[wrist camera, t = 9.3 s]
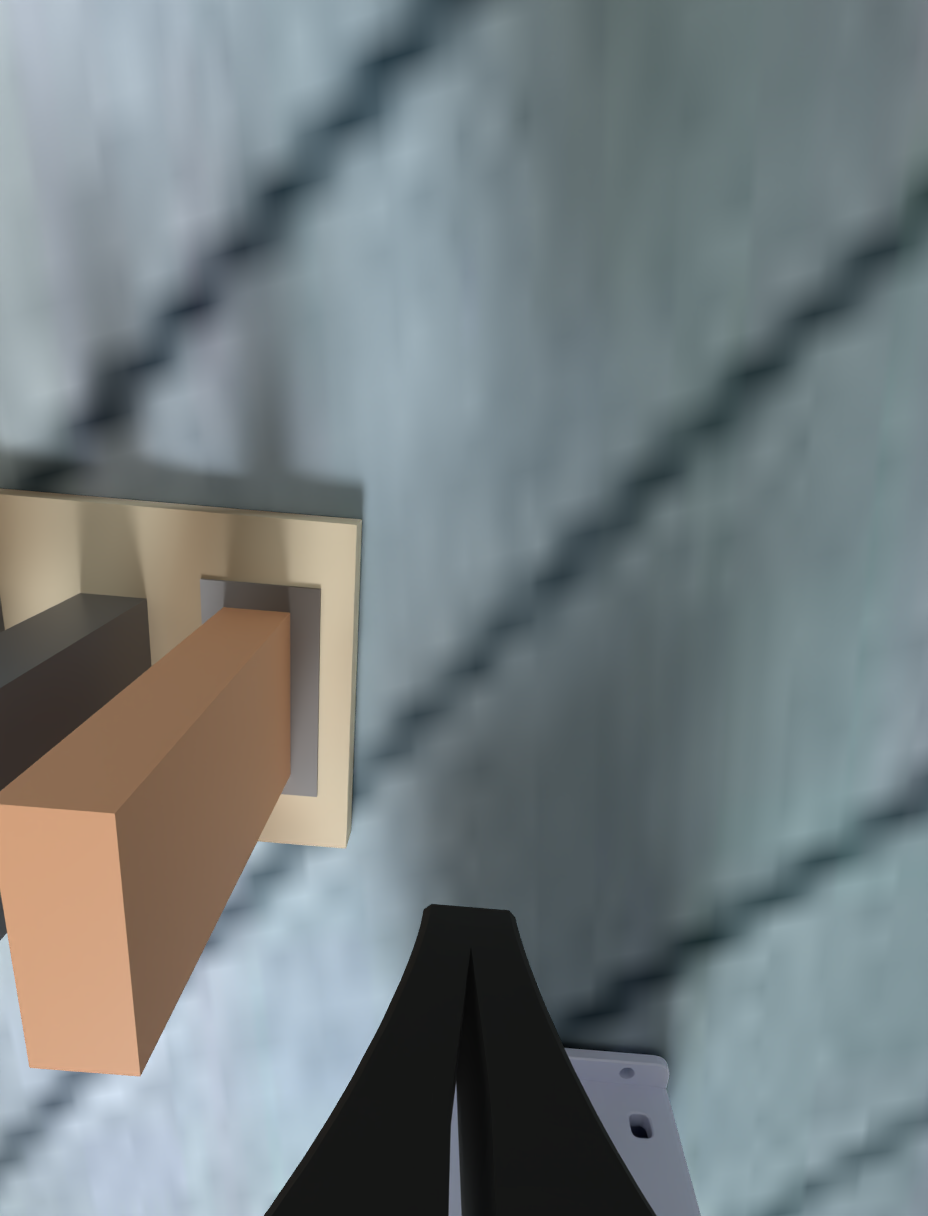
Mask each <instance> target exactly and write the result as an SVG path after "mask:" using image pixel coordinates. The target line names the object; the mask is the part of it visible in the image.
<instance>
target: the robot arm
mask: <svg viewBox="0 0 928 1216" xmlns="http://www.w3.org/2000/svg"><path fill="white" fill-rule="evenodd" d="M668 1080H669V1068H668V1065H667V1062H666V1061H665V1059H663V1058H662V1057H660V1056H656V1055H646V1054H634V1053H622V1052H610V1051H597V1050H585V1049H573V1048H564V1047H563V1044H562V1042H561V1040H560V1038H559V1035H558V1033H557V1031H556V1029H555V1026H554V1024H553V1022H552V1019H551V1017H550V1015H549V1013H548V1010H547V1008H546V1006H545V1003H544V1001H543V999H542V996H541V994H540V991H539V989H538V986H537V983H536V981H535V978H534V976H533V973H532V970H531V968H530V965H529V962H528V959H527V956H526V953H525V950H524V947H523V944H522V941H521V938H520V934H519V931H518V927H517V923H516V919H515V917H514V915H513V914H512V913H511V912H510V911H509V910H497V909H485V908H473V907H461V906H449V905H437V904H431V905H429V906H428V907H427V908H425V909H424V911H423V916H422V921H421V925H420V929H419V932H418V936H417V939H416V942H415V945H414V948H413V951H412V953H411V956H410V959H409V961H408V964H407V966H406V969H405V971H404V974H403V976H402V979H401V981H400V983H399V985H398V987H397V990H396V992H395V994H394V996H393V998H392V1001H391V1003H390V1005H389V1007H388V1009H387V1011H386V1014H385V1016H384V1018H383V1020H382V1022H381V1024H380V1026H379V1028H378V1030H377V1032H376V1034H375V1036H374V1038H373V1040H372V1041H371V1043H370V1045H369V1047H368V1049H367V1051H366V1053H365V1055H364V1056H363V1058H362V1060H361V1062H360V1064H359V1066H358V1068H357V1070H356V1071H355V1073H354V1075H353V1077H352V1079H351V1081H350V1082H349V1084H348V1086H347V1088H346V1089H345V1091H344V1093H343V1094H342V1096H341V1098H340V1100H339V1101H338V1103H337V1105H336V1106H335V1108H334V1110H333V1111H332V1113H331V1115H330V1116H329V1118H328V1120H327V1121H326V1123H325V1125H324V1126H323V1128H322V1129H321V1131H320V1132H319V1134H318V1136H317V1137H316V1139H315V1140H314V1142H313V1144H312V1145H311V1147H310V1148H309V1150H308V1152H307V1153H306V1155H305V1156H304V1158H303V1159H302V1161H301V1162H300V1164H299V1165H298V1167H297V1168H296V1170H295V1171H294V1172H293V1174H292V1175H291V1177H290V1178H289V1180H288V1181H287V1183H286V1184H285V1186H284V1187H283V1189H282V1190H281V1192H280V1193H279V1195H278V1196H277V1198H276V1199H275V1200H274V1202H273V1203H272V1205H271V1206H270V1208H269V1209H268V1211H267V1212H266V1213H265V1215H264V1216H701V1215H700V1211H699V1207H698V1204H697V1200H696V1196H695V1193H694V1189H693V1185H692V1181H691V1178H690V1174H689V1170H688V1167H687V1163H686V1159H685V1156H684V1152H683V1148H682V1145H681V1141H680V1137H679V1133H678V1130H677V1126H676V1122H675V1119H674V1115H673V1111H672V1108H671V1104H670V1100H669V1097H668V1093H667V1090H666V1088H667V1084H668Z"/></svg>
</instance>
